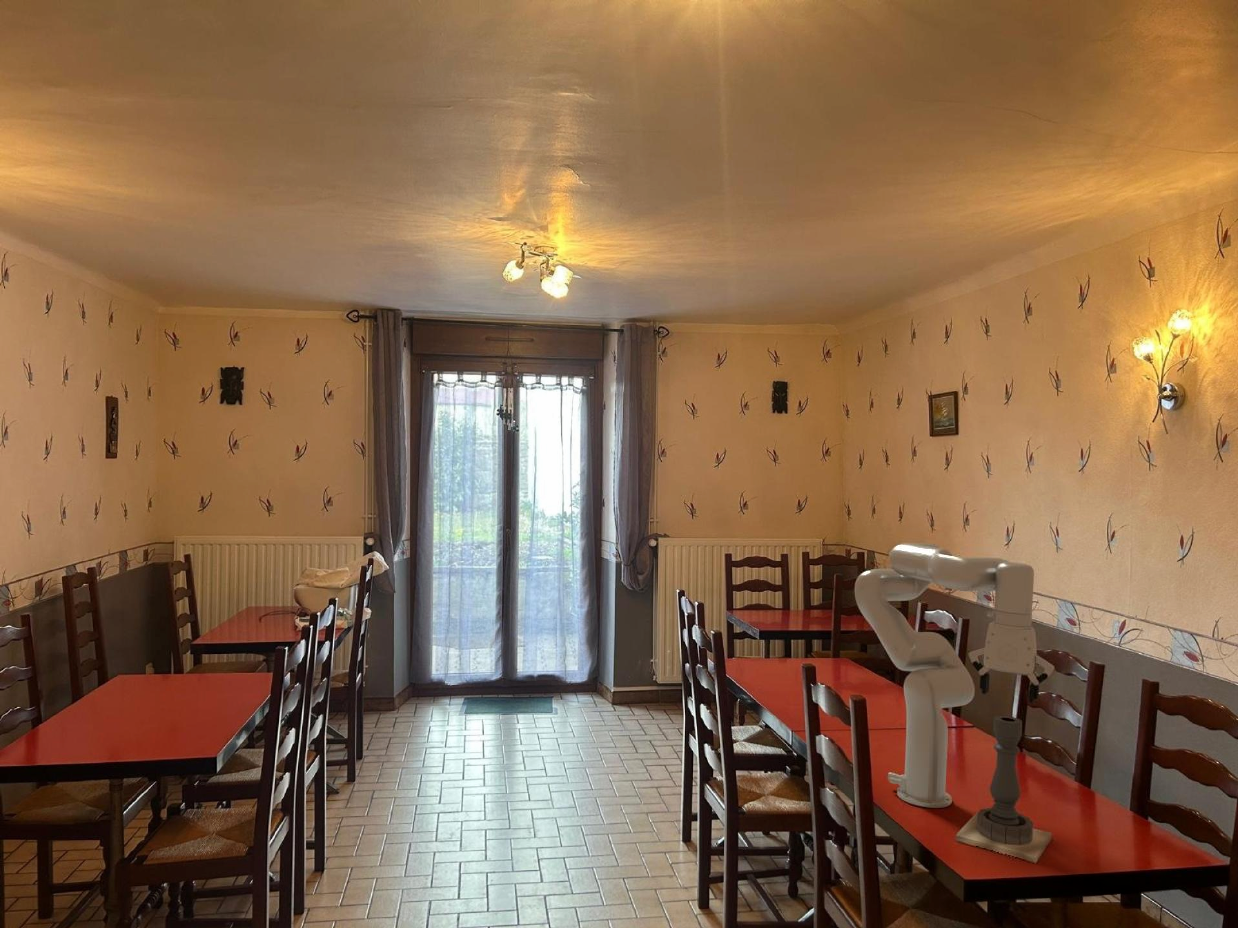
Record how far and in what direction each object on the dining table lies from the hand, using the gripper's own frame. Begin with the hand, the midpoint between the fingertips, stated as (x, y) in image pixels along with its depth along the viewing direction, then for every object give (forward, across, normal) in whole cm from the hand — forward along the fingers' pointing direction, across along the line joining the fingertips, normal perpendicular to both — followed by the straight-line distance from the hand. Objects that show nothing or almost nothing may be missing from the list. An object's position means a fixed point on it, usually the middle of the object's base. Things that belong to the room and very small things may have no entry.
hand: (1008, 697), depth 189 cm
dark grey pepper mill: (+30, 0, 0) cm, 30 cm away
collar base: (+31, +1, 0) cm, 31 cm away
